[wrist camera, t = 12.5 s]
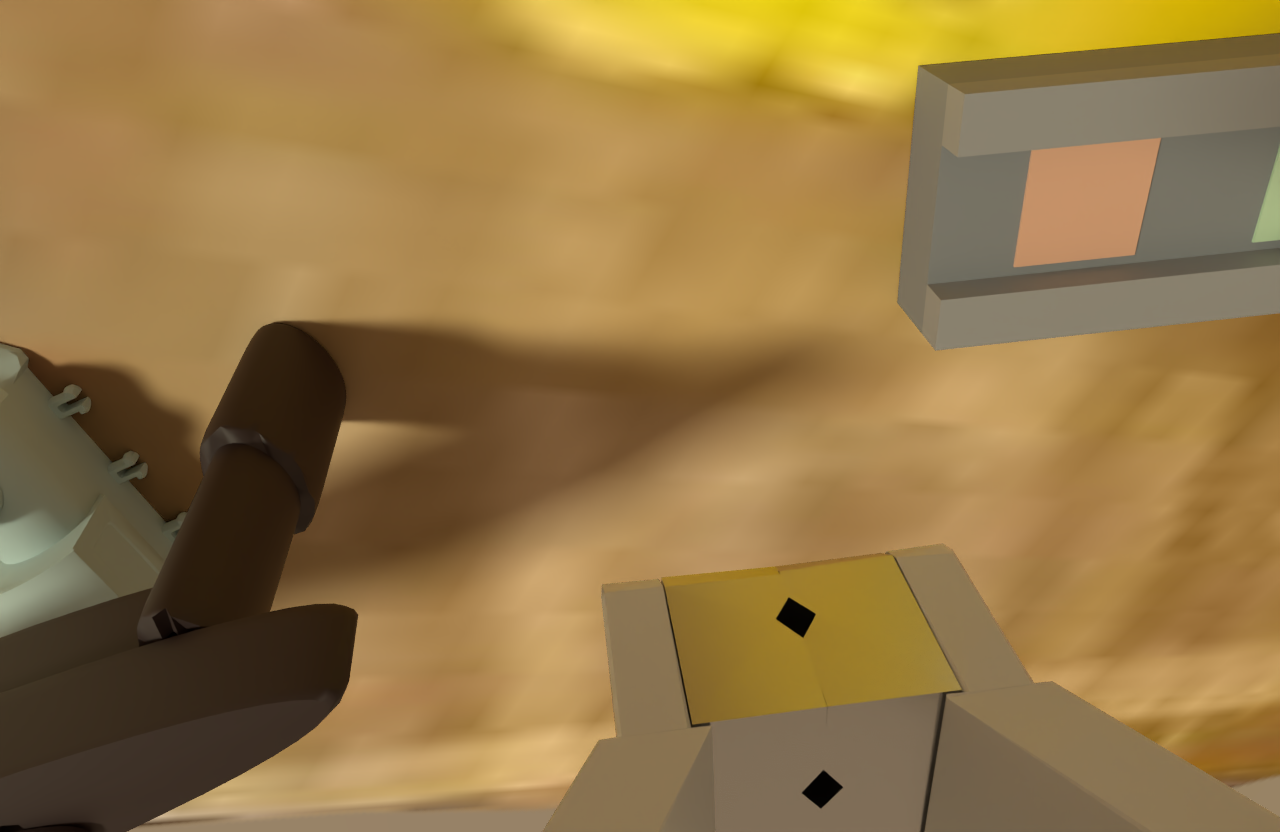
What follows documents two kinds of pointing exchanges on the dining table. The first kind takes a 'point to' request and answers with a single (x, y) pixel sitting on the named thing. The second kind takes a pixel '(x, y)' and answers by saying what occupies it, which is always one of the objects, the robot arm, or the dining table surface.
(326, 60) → the dining table surface
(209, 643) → the stool
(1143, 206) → the switch panel
